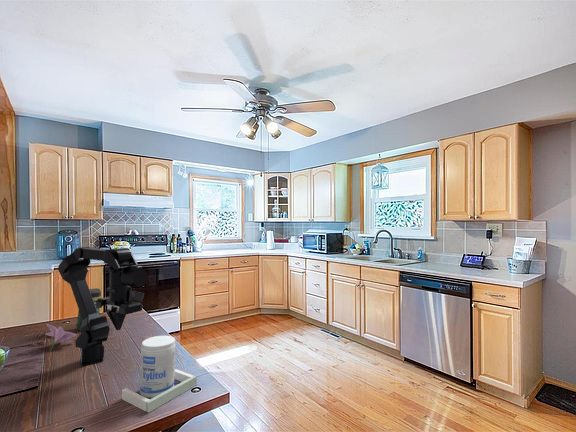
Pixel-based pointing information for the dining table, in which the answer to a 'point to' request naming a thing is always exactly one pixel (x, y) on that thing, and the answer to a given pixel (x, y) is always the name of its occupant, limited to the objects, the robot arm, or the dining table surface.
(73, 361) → the dining table surface
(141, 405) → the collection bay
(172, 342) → the supplement tub
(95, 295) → the coffee jar
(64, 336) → the lily
